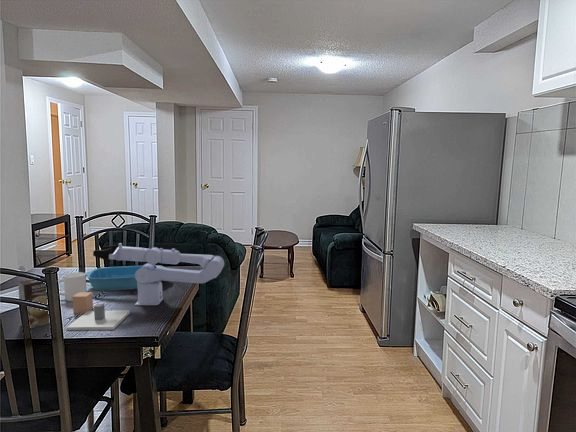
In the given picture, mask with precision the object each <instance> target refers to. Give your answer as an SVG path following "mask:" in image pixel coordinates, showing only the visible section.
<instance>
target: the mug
mask: <svg viewBox="0 0 576 432" xmlns="http://www.w3.org/2000/svg"><path fill="white" fill-rule="evenodd" d="M85 274H86V272H81V271H78V272H71V273H70V272H69V273H67V274H66V273H65V274H64V275H63V278H59V279H58V280H57V281H59V285H60V284H61V283H63V289H64V290H63V291H61V290H60V295H59V296H63V297H64V299H65V300H66V301H67V302H73V299H72V297H73V296H74V295H76V294H77V293H79V292H87V280H86V278H87V277H86V276H85Z"/></svg>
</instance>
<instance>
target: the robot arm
mask: <svg viewBox="0 0 576 432" xmlns="http://www.w3.org/2000/svg"><path fill="white" fill-rule="evenodd" d="M92 255H93V257H95V258H98V259H101V260H104V261H105V262H107V263H111V262H112V260H116V261H127V262H128V261H129V262H139V263H140V262H142V263H143V262H144V264H143V265H142V266H143V267H141V268H140V269H138V270H137V271H136V273H135V279H136V280H137V287H138V289H137V301H136V303H134V306H158V305H160V303H161V302H162V301H163V300H164V298H163V297H164V296H163V295H164V294H163V283H162V281H165V282H176V283H179V282H180V283H192V284H206V283H208V282H209V281H212V280H213V279H216V278H217V277H219V275H220V274H221V273H222V270H223V269H224V267H225V260H224V258H223V257H222V256H220V255H213V254H202V253H201V254H198V253H197V254H195V253H181V251H179V250H177V249H176V248H171V249H164V248H163V247H160V248H158V247H157V246H154V247H151V248H149V247H148V248H145V247H138V246H137V247H136V246H123V243H122V242H120V243H119V242H118V243H117V244H113V245H105V246H101V249H96V250H93V254H92ZM158 263H159V264H165V265H166V264H167V265H168V264H169V265H178V264H179V263H189V264H197V265H199V266H200V267H201V268H202V269H200V270H196V269H195V270H194V269H182V268H169V267H165V268H162V267H160V266H161V265H160V266H156V264H158ZM159 280H161V282H160V281H159Z"/></svg>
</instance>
